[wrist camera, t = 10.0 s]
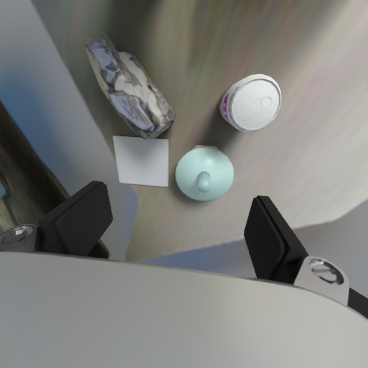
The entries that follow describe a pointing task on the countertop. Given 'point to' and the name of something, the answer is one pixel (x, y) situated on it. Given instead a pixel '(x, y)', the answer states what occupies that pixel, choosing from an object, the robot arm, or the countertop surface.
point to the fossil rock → (129, 88)
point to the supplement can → (251, 103)
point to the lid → (204, 173)
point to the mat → (142, 160)
